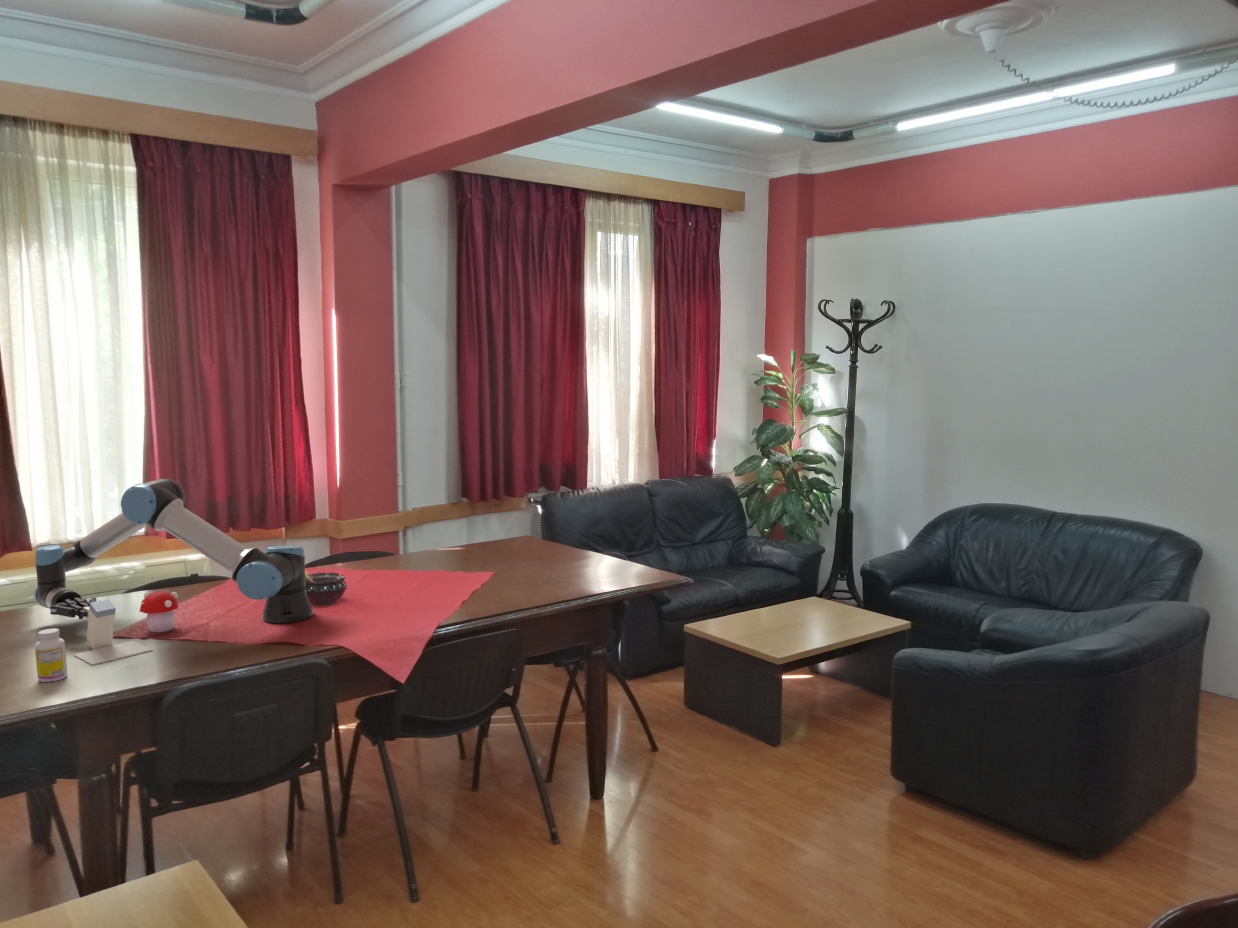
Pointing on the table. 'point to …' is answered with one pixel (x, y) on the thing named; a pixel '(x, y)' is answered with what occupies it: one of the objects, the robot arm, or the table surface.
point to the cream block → (100, 624)
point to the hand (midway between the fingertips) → (94, 615)
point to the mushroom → (159, 610)
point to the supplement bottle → (50, 656)
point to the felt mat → (112, 652)
